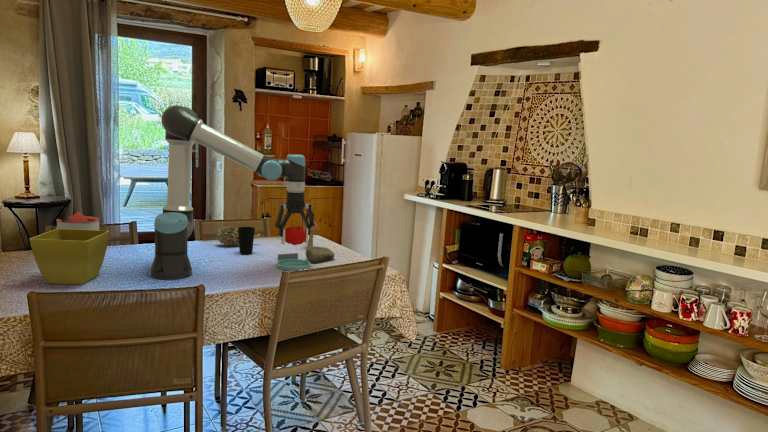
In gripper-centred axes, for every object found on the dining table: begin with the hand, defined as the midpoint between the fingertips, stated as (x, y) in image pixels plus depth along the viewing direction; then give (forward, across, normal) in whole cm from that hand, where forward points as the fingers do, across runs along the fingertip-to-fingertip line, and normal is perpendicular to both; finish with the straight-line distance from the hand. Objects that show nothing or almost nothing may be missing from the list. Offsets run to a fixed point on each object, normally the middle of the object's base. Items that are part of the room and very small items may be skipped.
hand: (294, 243), depth 226 cm
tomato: (0, 0, 0) cm, 1 cm away
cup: (+10, -13, +29) cm, 34 cm away
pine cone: (+10, -12, +47) cm, 50 cm away
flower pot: (+9, -82, +4) cm, 83 cm away
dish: (+10, 0, 0) cm, 10 cm away
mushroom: (+10, +20, +31) cm, 38 cm away
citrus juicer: (+9, -81, +37) cm, 90 cm away
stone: (+11, +15, +8) cm, 20 cm away
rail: (+10, 0, +9) cm, 14 cm away
